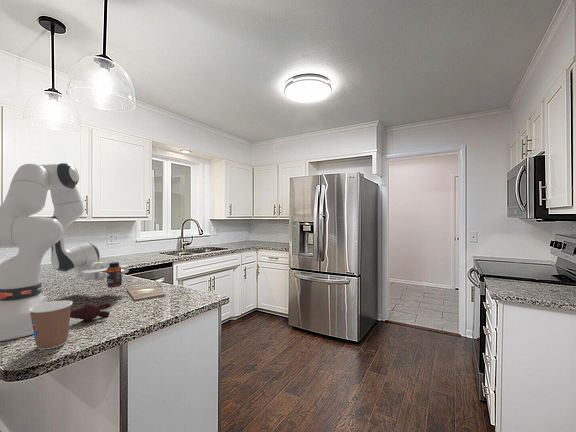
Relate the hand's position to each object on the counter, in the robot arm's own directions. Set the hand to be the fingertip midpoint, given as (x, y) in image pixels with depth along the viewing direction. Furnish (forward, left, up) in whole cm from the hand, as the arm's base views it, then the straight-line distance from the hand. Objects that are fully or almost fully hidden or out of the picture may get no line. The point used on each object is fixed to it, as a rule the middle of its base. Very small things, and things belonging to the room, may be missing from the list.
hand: (115, 273), depth 132 cm
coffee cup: (-42, +21, -12) cm, 49 cm away
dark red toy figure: (-25, +12, -12) cm, 30 cm away
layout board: (+1, -13, -12) cm, 17 cm away
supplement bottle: (+1, 0, -6) cm, 6 cm away
